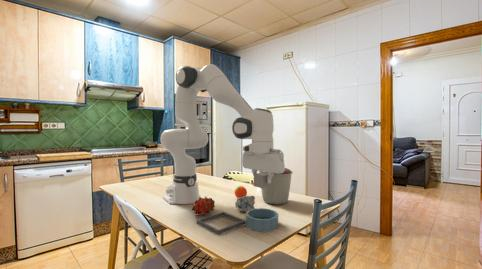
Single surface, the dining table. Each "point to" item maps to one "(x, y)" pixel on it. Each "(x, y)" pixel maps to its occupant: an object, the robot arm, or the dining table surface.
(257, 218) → the bowl
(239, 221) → the tray
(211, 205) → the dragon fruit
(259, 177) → the pebble block
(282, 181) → the canister
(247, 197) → the mineral specimen
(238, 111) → the robot arm
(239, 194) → the clementine
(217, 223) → the dining table surface
